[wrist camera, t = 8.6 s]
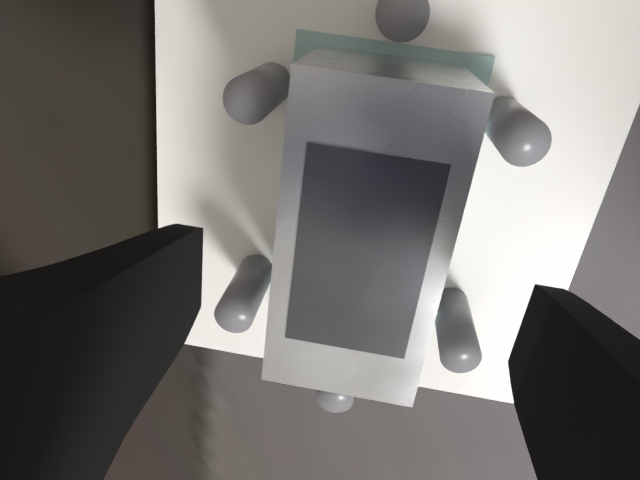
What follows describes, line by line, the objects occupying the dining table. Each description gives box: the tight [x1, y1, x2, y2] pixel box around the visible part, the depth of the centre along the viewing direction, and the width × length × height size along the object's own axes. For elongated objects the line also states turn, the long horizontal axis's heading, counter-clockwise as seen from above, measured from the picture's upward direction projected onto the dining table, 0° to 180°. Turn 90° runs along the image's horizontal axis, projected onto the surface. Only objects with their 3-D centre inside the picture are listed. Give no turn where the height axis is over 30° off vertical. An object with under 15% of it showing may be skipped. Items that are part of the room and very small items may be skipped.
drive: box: [261, 45, 495, 407], centre depth 14 cm, size 4×8×5 cm, turn 173°
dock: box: [155, 0, 640, 413], centre depth 16 cm, size 14×14×4 cm
